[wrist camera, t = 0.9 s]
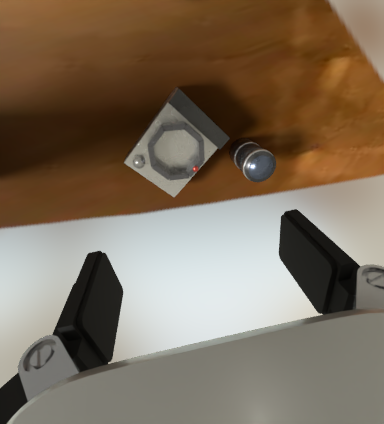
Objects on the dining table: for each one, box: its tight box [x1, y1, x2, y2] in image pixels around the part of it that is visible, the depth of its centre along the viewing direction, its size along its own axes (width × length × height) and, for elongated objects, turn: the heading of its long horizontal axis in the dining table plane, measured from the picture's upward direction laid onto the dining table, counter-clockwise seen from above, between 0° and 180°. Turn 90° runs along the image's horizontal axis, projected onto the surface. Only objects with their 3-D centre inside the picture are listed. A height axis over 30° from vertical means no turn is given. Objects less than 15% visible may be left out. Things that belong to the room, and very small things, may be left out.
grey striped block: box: [124, 87, 230, 197], centre depth 32 cm, size 12×9×7 cm
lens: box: [229, 138, 276, 182], centre depth 34 cm, size 5×5×8 cm
